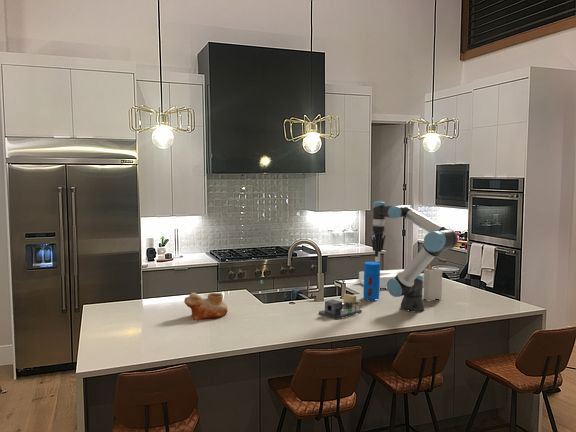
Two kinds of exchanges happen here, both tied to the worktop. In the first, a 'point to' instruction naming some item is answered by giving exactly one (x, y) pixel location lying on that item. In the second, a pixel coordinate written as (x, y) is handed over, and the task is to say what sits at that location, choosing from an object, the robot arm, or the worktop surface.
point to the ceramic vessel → (206, 306)
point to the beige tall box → (432, 283)
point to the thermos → (371, 280)
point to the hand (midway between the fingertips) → (377, 261)
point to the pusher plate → (350, 300)
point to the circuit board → (338, 309)
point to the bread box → (383, 277)
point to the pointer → (349, 305)
